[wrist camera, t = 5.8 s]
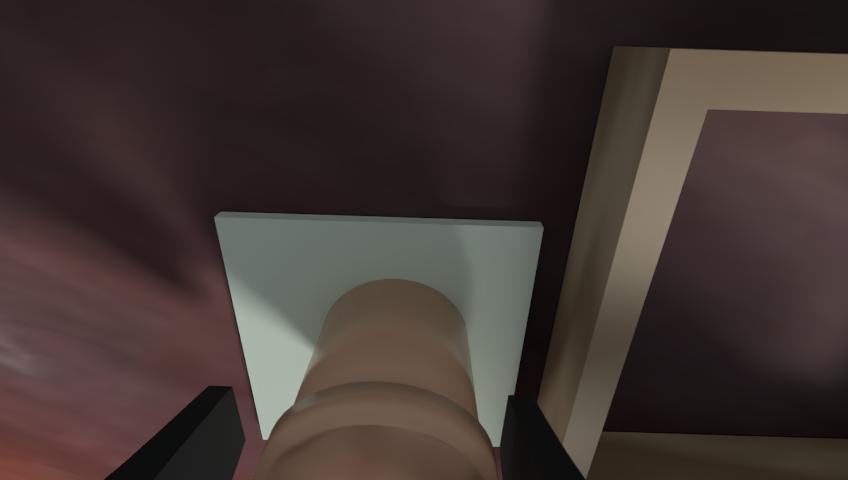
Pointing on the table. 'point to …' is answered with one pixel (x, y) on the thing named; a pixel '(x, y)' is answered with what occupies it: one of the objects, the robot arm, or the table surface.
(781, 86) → the wooden frame
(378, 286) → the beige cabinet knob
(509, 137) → the table surface
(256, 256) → the mat
